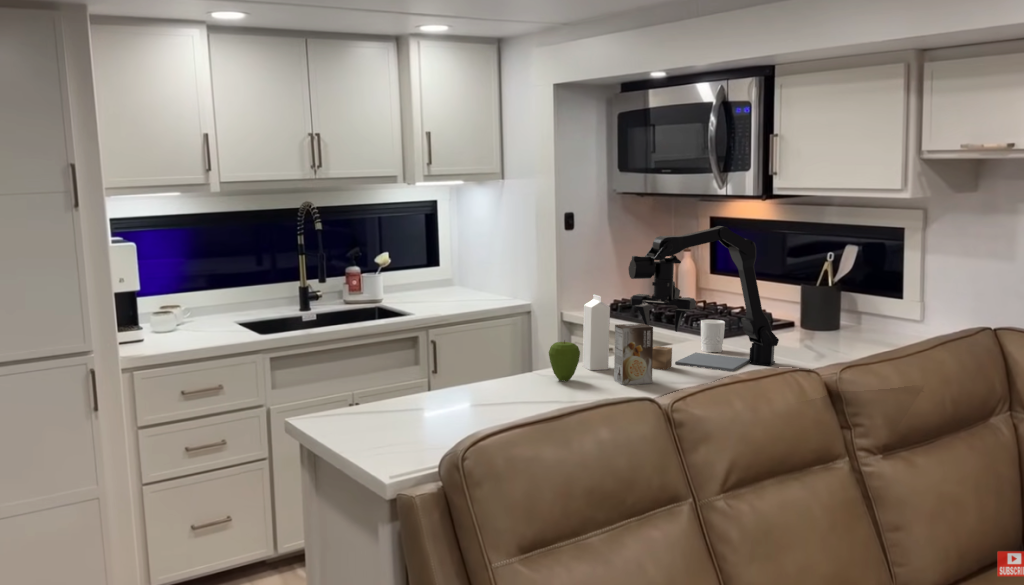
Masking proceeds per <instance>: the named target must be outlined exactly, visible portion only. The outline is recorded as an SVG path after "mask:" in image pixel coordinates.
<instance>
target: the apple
mask: <svg viewBox="0 0 1024 585" xmlns="http://www.w3.org/2000/svg"><path fill="white" fill-rule="evenodd" d="M580 355H581V350H580V348H579V346H578V345H577V344H575V343H574V342H569V341H566V339H564V341H558V342H554V343H553V344H552V345H550V347H549V351H548V358H549V363H550V365H551V369H552V372H553V375H554V376H555V377H556V379H558V380H559V381H561V382H568V381H570V379H571V378H572V377H573V376H574V375H575V373H576V370H577V367H578V365H579V363H580Z"/></svg>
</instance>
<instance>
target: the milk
mask: <svg viewBox="0 0 1024 585" xmlns="http://www.w3.org/2000/svg"><path fill="white" fill-rule="evenodd" d="M592 297H593V298H592V299H591V300H590V301H588V302H586V303H585V304H584V305H583V326H582V327H583V328H582V330H583V333H582V334H583V335H582V341H583V342H582V367H583V368H585V369H587V370H588V371H600V370H601V371H602V370H609V359H610V358H609V356H610V355H609V354H610V352H609V351H610V322H611V321H610V320H611V317H610V316H611V306H610V305H608V304H606V303H604V302H602V296H601V295H597V294H593V295H592Z"/></svg>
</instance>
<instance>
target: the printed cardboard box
mask: <svg viewBox="0 0 1024 585" xmlns="http://www.w3.org/2000/svg"><path fill="white" fill-rule="evenodd" d="M653 339H654V326H652V325H650V324H649V325H646V324H645V323H626V324H622V323H621V324H615V325H614V363H613V364H614V367H613V369H614V371H613V372H614V373H613V381H614V382H616V383H618V384H619V385H622V386H629V385H645V384H646V385H647V384H653V368H652V359H653V347H654V340H653Z"/></svg>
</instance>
